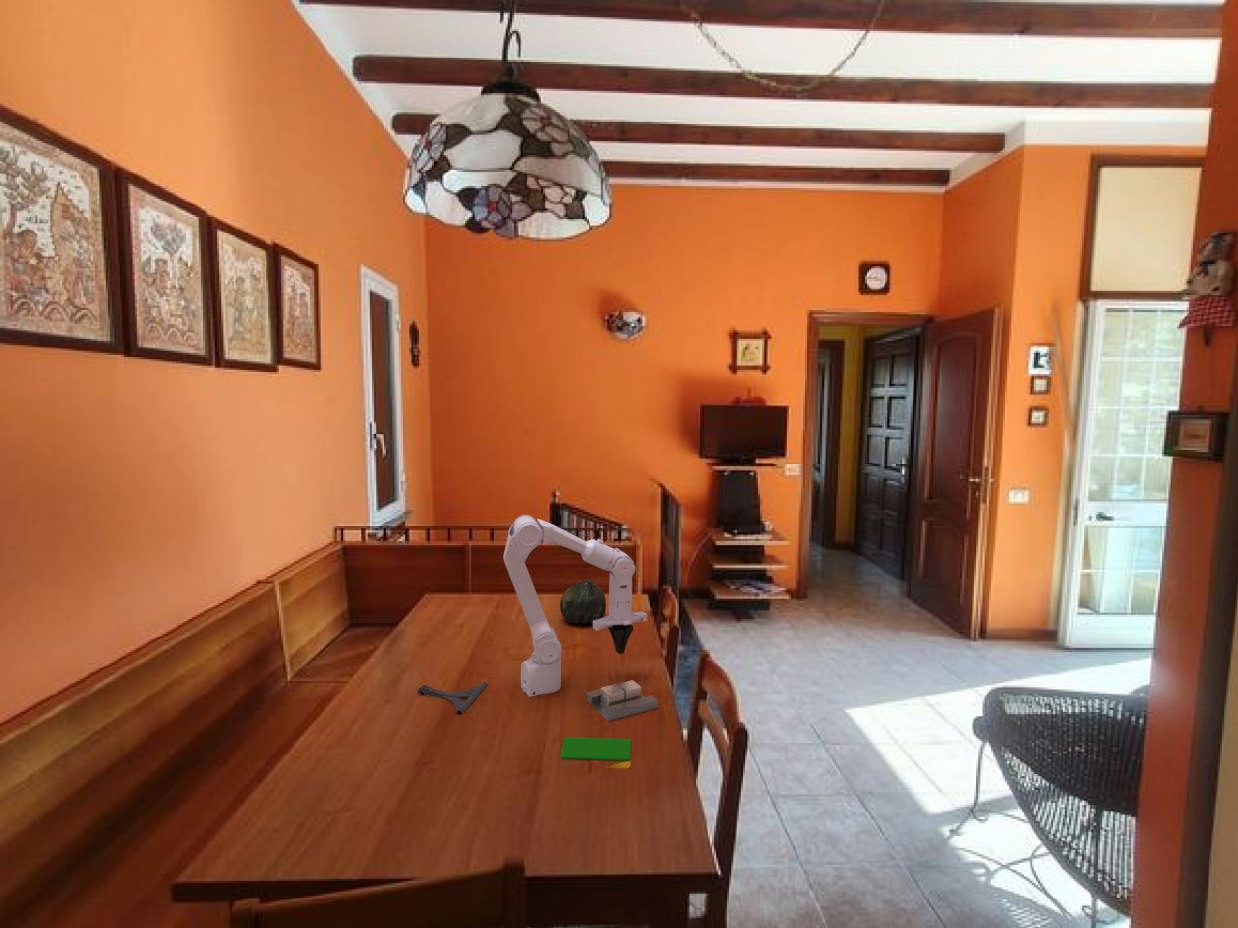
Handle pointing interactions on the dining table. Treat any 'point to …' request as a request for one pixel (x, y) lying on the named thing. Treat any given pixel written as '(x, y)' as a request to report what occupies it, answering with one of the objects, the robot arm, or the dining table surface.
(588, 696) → the slot plate
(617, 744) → the dish sponge
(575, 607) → the squash
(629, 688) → the block
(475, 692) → the bracket
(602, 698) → the block
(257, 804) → the dining table surface
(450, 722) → the dining table surface
